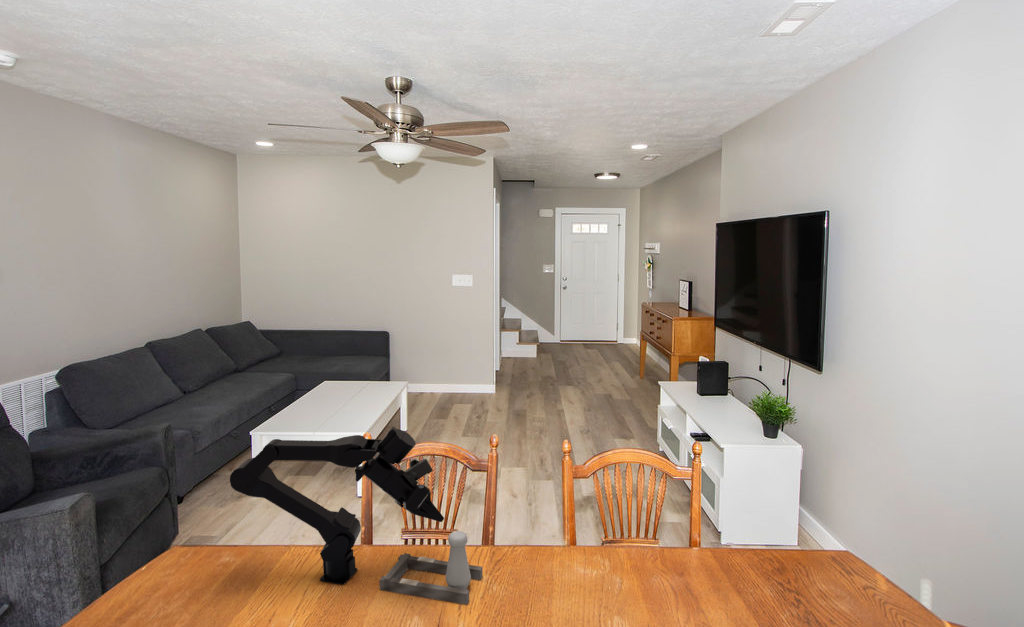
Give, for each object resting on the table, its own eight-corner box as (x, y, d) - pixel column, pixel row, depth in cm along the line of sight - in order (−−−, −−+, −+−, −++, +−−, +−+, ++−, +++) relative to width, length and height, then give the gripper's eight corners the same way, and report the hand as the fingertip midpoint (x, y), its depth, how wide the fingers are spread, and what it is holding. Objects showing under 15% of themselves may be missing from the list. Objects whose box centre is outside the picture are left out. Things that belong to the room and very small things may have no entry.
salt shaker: (467, 596, 128) (466, 541, 126) (442, 593, 129) (441, 539, 127) (473, 581, 133) (473, 528, 132) (450, 578, 134) (449, 526, 133)
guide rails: (379, 590, 130) (379, 577, 130) (401, 564, 141) (401, 552, 140) (466, 604, 125) (466, 592, 124) (482, 576, 135) (482, 564, 135)
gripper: (416, 448, 128) (469, 491, 129) (403, 449, 145) (451, 487, 146) (383, 490, 123) (438, 534, 125) (374, 486, 141) (423, 524, 142)
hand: (438, 518), depth 135 cm, fingers open, 9 cm apart
